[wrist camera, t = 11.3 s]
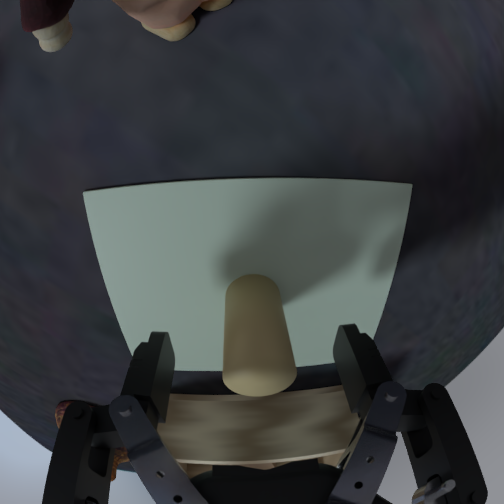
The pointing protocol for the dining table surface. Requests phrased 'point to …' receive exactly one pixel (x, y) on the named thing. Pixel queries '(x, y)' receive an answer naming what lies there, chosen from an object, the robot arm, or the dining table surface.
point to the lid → (248, 268)
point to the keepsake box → (257, 428)
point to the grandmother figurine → (133, 3)
